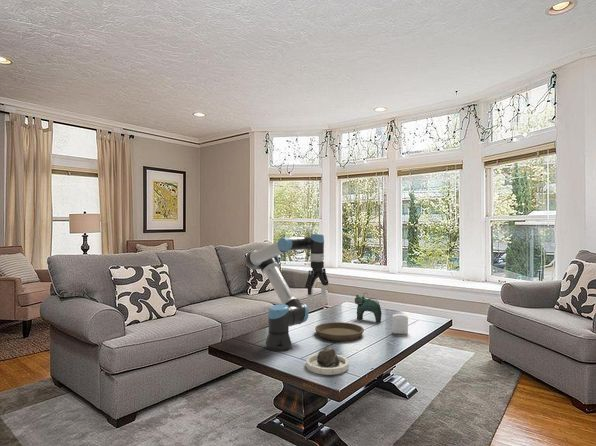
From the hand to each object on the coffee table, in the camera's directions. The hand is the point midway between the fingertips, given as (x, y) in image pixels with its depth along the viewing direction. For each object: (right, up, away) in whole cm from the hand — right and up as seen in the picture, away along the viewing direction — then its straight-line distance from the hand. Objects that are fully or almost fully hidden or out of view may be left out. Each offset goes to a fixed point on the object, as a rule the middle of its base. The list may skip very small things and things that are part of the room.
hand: (317, 298), depth 211 cm
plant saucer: (+16, -29, +28) cm, 44 cm away
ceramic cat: (+41, -29, +64) cm, 81 cm away
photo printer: (+55, -29, +31) cm, 70 cm away
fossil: (+4, -28, -26) cm, 38 cm away
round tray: (+4, -29, -25) cm, 38 cm away
